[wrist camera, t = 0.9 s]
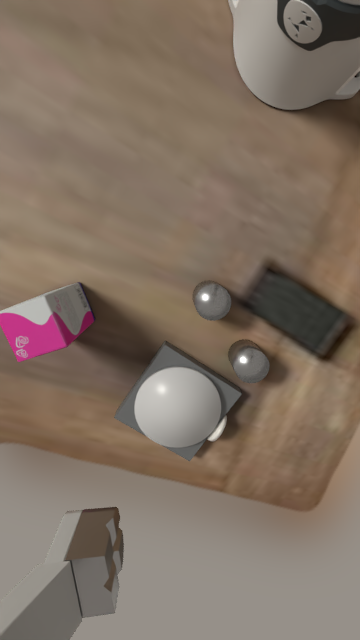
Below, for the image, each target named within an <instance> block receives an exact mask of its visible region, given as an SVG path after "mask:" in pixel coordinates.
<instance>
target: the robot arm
mask: <svg viewBox="0 0 360 640" xmlns="http://www.w3.org/2000/svg"><path fill="white" fill-rule="evenodd" d="M228 2H229V5H230V9H231V12H232V15H233V19H234V33H233V47H234V55H235V60H236V64H237V67H238V70H239V72H240V75H241V77H242V79H243V80H244V82H245V84H246V85H247V87H248V88H249V89H250V90H251V91H252V92H253V94H254V95H256V96H257V97H258V98H259V99H260V100H262V101H263V102H265V103H267V104H269V105H271V106H273V107H276V108H280V109H286V110H296V109H303V108H307V107H310V106H313V105H315V104H317V103H319V102H322V101H324V100H328V99H349V98H351V97H353V96H354V95H355V94H356V93H357V92H358V91H359V89H360V0H228ZM355 75H357V77H356V78H355V77H354V76H355ZM119 521H120V515H119V510H118V508H117V507H110V508H98V509H85V510H76V511H67V512H66V513H65V514H64V515H63V517H62V520H61V522H60V525H59V527H58V530H57V532H56V535H55V537H54V539H53V542H52V544H51V547H50V549H49V552H48V554H47V556H46V559H45V562H44V564H38V565H37V566H36V567H35V568H34V569H33V570H32V571H31V572H30V573H29V574H28V575H27V576H25V577H24V579H22V580H21V581H20V582H19V583H18V584H17V585H16V586H15V587H14V588H13V589H12V590H11V591H10V592H9V593H8V594H7V595H6V596H5V597H4V598H3V599H1V601H0V640H70V638H71V637H72V635H73V634H74V632H75V631H76V629H77V627H78V626H79V624H80V623H81V622H82V618H85V617H91V616H98V615H106V614H112V613H115V609H116V603H117V597H118V590H119V582H118V576H117V575H118V573H119V572H120V571H121V570H122V564H123V552H124V551H123V550H124V543H123V533H122V530H121V529H120V528H119Z"/></svg>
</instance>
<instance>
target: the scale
mask: <svg viewBox="0 0 360 640" xmlns="http://www.w3.org/2000/svg"><path fill="white" fill-rule="evenodd" d="M241 394H242V393H241V391H240V389H239V387H237V386H236V385H234V384H233V383H231V382H229V381H228V380H226V379H225V378H223V377H222V376H220V375H218V374H217V373H215V372H214V371H212V370H211V369H209V368H208V367H206V366H204V365H203V364H201V363H200V362H198V361H197V360H195V359H193V358H192V357H190V356H189V355H187V354H186V353H184V352H182V351H181V350H179V349H178V348H176V347H175V346H173V345H171V344H170V343H168V342H167V341H164V343H163V344H162V346H161V347H160V349H159V350H158V352H157V353H156V354H155V356H154V357H153V359H152V360H151V362H150V363H149V365H148V366H147V367H146V369H145V370H144V372H143V373H142V375H141V376H140V378H139V379H138V380H137V382H136V383H135V385H134V386H133V388H132V389H131V391H130V392H129V393H128V395H127V396H126V398H125V399H124V401H123V402H122V404H121V405H120V406H119V408H118V409H117V411H116V414H115V417H114V418H115V419H117V420H119V421H121V422H122V423H124V424H126V425H128V426H129V427H131V428H133V429H135V430H136V431H138V432H140V433H141V434H143V435H145V436H147V437H148V438H150V439H151V440H153V441H154V442H156V443H158V444H160V445H162V446H164V447H166V448H167V449H169V450H171V451H173V452H174V453H176V454H178V455H180V456H181V457H183V458H185V459H186V460H188V461H190V460H191V459H192V458H193V456H194V455H195V454H196V452H197V451H198V450H199V449H200V447H201V446H202V445H203V443H204V442H205V441H206V440H207V439H208V440H210V441H211V442H213V441H215V440H217V439H218V438H219V437H220V435H221V434H222V432H223V430H224V428H225V426H226V422H227V416H226V414H227V412H228V411H229V410H230V408H231V407H232V406H233V405H234V403H235V402H236V401H237V399H238V398H239V397H240V396H241Z"/></svg>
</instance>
